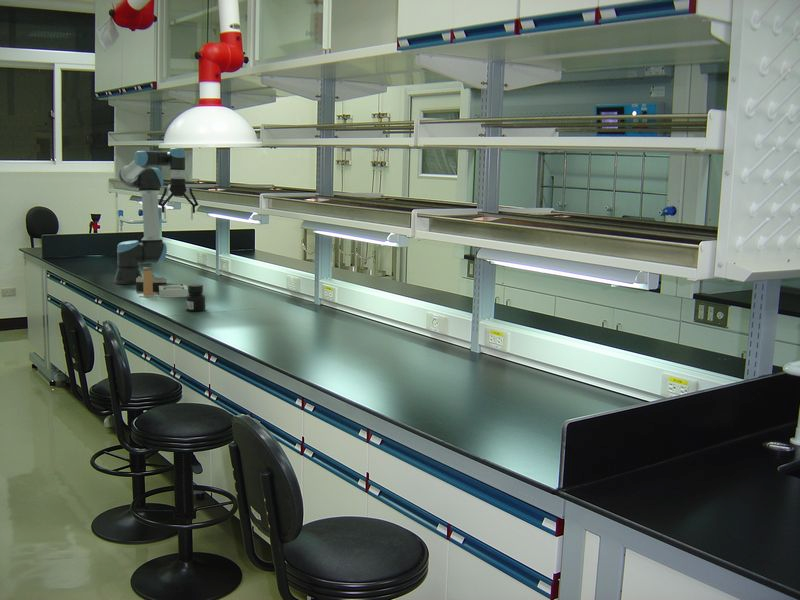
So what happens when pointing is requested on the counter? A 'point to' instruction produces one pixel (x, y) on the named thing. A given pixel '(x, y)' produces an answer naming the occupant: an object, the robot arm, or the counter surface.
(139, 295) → the mat
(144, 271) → the plug
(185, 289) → the frame
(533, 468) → the counter surface
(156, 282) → the camera
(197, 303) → the ink bottle
